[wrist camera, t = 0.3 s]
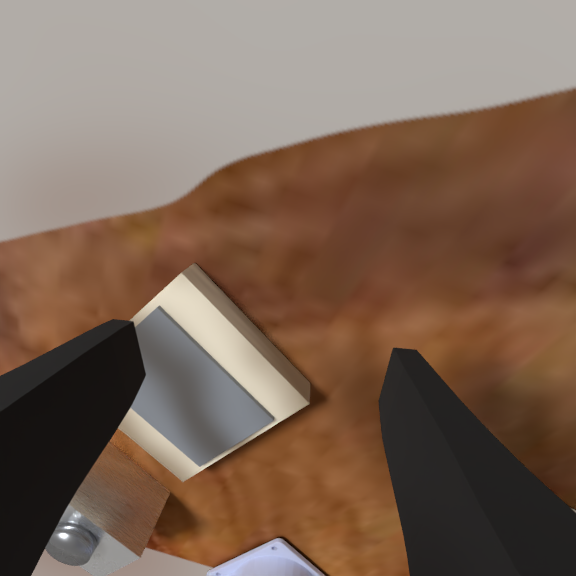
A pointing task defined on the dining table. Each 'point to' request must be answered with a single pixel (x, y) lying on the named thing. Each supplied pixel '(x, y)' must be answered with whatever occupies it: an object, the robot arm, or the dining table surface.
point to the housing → (109, 516)
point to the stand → (206, 377)
